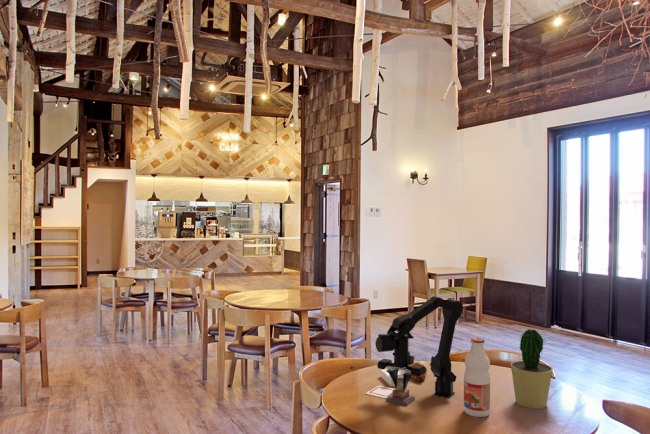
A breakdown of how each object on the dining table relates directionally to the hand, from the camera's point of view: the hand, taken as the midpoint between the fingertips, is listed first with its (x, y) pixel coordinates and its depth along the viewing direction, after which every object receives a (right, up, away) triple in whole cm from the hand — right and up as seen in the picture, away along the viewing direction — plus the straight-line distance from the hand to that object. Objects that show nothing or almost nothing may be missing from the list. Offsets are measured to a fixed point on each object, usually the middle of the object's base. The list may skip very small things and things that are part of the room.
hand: (400, 388), depth 201 cm
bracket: (0, -5, +24) cm, 24 cm away
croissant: (+12, -5, +31) cm, 34 cm away
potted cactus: (+52, -6, -2) cm, 52 cm away
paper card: (-6, -5, +9) cm, 12 cm away
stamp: (0, -3, 0) cm, 3 cm away
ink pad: (0, -5, 0) cm, 5 cm away
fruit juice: (+27, -5, -12) cm, 30 cm away
